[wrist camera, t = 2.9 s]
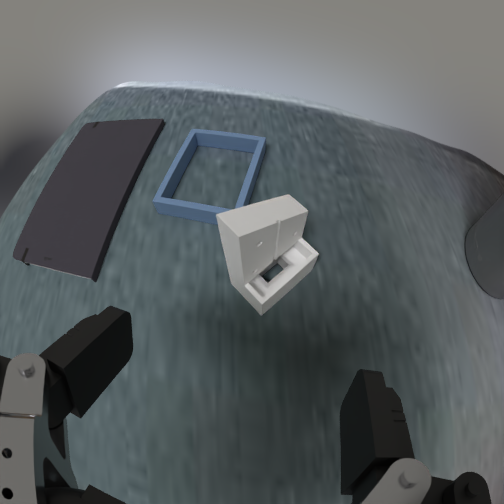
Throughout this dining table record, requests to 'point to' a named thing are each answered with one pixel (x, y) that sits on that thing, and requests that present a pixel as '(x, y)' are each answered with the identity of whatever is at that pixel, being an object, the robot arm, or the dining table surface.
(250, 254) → the white angled block
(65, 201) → the notebook
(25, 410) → the robot arm
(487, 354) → the dining table surface
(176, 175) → the blue rectangular frame
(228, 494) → the dining table surface
